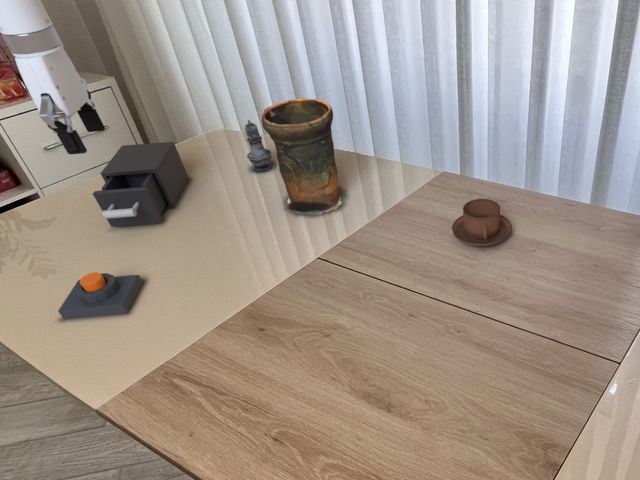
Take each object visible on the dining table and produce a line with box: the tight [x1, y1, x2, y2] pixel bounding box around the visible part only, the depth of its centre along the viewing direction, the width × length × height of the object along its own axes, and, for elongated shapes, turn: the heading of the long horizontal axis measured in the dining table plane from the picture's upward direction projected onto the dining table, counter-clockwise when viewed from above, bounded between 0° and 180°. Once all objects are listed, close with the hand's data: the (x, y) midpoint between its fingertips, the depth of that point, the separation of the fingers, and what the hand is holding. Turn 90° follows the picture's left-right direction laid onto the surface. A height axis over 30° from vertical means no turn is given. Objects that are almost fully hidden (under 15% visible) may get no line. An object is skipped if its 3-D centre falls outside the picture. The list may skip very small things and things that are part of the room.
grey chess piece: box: [244, 119, 275, 173], centre depth 132 cm, size 6×6×12 cm
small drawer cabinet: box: [100, 141, 190, 210], centre depth 125 cm, size 14×12×10 cm
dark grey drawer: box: [92, 173, 167, 228], centre depth 118 cm, size 17×10×8 cm, turn 6°
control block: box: [57, 272, 144, 320], centre depth 99 cm, size 11×9×4 cm
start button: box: [79, 271, 106, 292], centre depth 97 cm, size 4×4×2 cm
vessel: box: [261, 97, 343, 217], centre depth 117 cm, size 14×14×20 cm
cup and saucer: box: [451, 198, 512, 247], centre depth 110 cm, size 12×12×6 cm
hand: (87, 141), depth 103 cm, fingers open, 9 cm apart
